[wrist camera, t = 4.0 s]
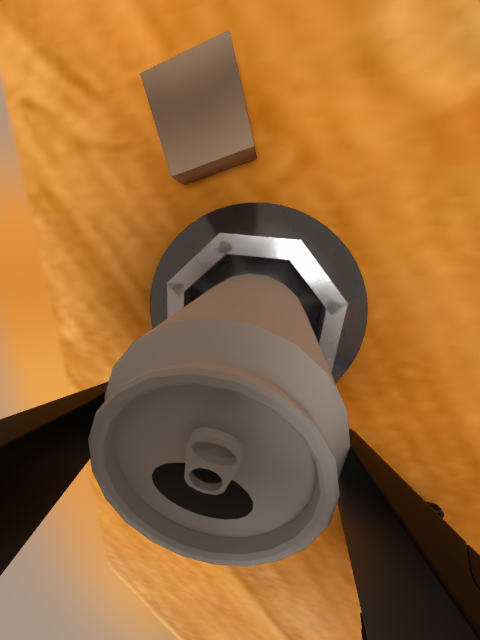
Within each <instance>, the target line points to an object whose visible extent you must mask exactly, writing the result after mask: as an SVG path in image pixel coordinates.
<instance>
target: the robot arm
mask: <svg viewBox="0 0 480 640" xmlns="http://www.w3.org/2000/svg"><path fill="white" fill-rule="evenodd" d="M108 383H109V382H106V383H103V384H100V385H97V386H94V387H92V388H89V389H86V390H83V391H80V392H77V393H74V394H72V395H69V396H66V397H63V398H60V399H57V400H55V401H52V402H49V403H46V404H43V405H40V406H37V407H35V408H32V409H29V410H26V411H23V412H20V413H17V414H15V415H12V416H9V417H6V418H3V419H1V420H0V575H1V574H2V573H3V571H4V570H5V569H6V567H7V566H8V565H9V564H10V562H11V561H12V560H13V558H14V557H15V556H16V555H17V553H18V552H19V551H20V549H21V548H22V547H23V545H24V544H25V543H26V541H27V540H28V539H29V537H30V536H31V535H32V534H33V532H34V531H35V530H36V528H37V527H38V526H39V525H40V523H41V522H42V520H43V519H44V518H45V516H46V515H47V514H48V513H49V511H50V510H51V509H52V508H53V506H54V505H55V504H56V502H57V501H58V500H59V498H60V497H61V496H62V494H63V493H64V492H65V491H66V489H67V488H68V487H69V485H70V484H71V483H72V481H73V480H74V479H75V478H76V476H77V475H78V474H79V472H80V471H81V469H82V468H83V467H84V466H85V464H86V463H87V462H88V461H89V459H90V450H89V441H88V438H89V435H90V431H91V428H92V424H93V421H94V417H95V414H96V411H97V410H98V409H99V408H100V407H101V405H102V404H103V403H104V402H105V398H104V397H105V393H106V390H107V386H108ZM349 438H350V448H349V451H348V454H347V457H346V460H345V463H344V465H343V468H342V471H341V474H340V477H339V478H338V485H339V494H340V495H339V498H338V506H339V511H340V516H341V520H342V525H343V529H344V534H345V539H346V543H347V548H348V552H349V557H350V561H351V566H352V570H353V575H354V579H355V584H356V588H357V593H358V597H359V602H360V607H361V611H362V613H360V616H361V624H362V629H361V631H362V639H363V640H480V555H479V554H478V553H477V552H476V551H475V550H474V549H473V548H472V547H471V546H469V545H466V542H465V541H464V540H463V539H462V538H461V537H460V536H459V535H458V534H457V533H456V532H455V531H454V530H453V529H452V528H451V527H450V526H449V525H448V524H447V523H446V522H445V521H444V520H443V517H444V513H443V511H442V510H441V508H440V507H438V506H434V505H429V504H427V503H426V502H425V501H424V500H423V499H422V498H421V497H420V496H419V495H418V494H417V493H416V492H415V491H414V490H413V489H412V488H411V487H410V486H409V485H408V484H407V483H406V482H405V481H404V480H403V479H402V478H401V477H400V476H399V475H398V474H397V473H396V472H395V471H394V470H393V469H392V468H391V467H390V466H389V465H388V464H387V463H386V462H385V461H384V460H383V459H382V458H381V457H380V456H379V455H378V454H377V453H376V452H375V451H374V450H373V449H372V448H371V447H370V446H369V445H368V444H367V443H366V442H365V441H364V440H363V439H362V438H361V437H360V436H359V435H358V434H357V433H356V432H355V431H353V430H352V429H349Z"/></svg>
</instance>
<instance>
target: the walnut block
mask: <svg viewBox="0 0 480 640" xmlns="http://www.w3.org/2000/svg"><path fill="white" fill-rule="evenodd" d="M140 75H141V78H142V81H143V85H144V88H145V91H146V95H147V98H148V101H149V104H150V108H151V111H152V114H153V117H154V121H155V124H156V127H157V131H158V134H159V137H160V140H161V144H162V147H163V150H164V154H165V157H166V160H167V163H168V167H169V170H170V173H171V176H172V177H173V178H175V179H176V180H178V181H179V182H181V183H182V184H187V183H190V182H192V181H195V180H198V179H201V178H204V177H206V176H209V175H212V174H215V173H218V172H220V171H223V170H226V169H229V168H232V167H234V166H237V165H240V164H243V163H245V162H248V161H251V160H254V159H257V156H256V151H255V146H254V141H253V137H252V132H251V127H250V123H249V118H248V113H247V109H246V104H245V99H244V95H243V90H242V85H241V81H240V76H239V71H238V66H237V62H236V57H235V52H234V48H233V43H232V39H231V34H230V30H228V31H226V32H224V33H222V34H220V35H218V36H216V37H213V38H211V39H209V40H207V41H205V42H203V43H201V44H199V45H197V46H195V47H193V48H191V49H189V50H187V51H185V52H183V53H181V54H179V55H177V56H175V57H173V58H170V59H168V60H166V61H164V62H162V63H160V64H158V65H156V66H154V67H152V68H150V69H148V70H146V71H144V72H142V73H140Z"/></svg>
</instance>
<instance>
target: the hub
mask: <svg viewBox="0 0 480 640" xmlns="http://www.w3.org/2000/svg"><path fill="white" fill-rule="evenodd" d="M243 274H257V275H264V276H269V277H271V278H273V279H275V280H277V281H279V282H281V283H283V284H285V285H286V286H287V287H288V288H289V289H290V290H291V291H292V292H293V293H294V294H295V295H296V296H297V297H298V299H299V301H300V303H301V305H302V307H303V309H304V311H305V313H306V315H307V317H308V320H309V322H310V325H311V327H312V329H313V332H314V334H315V336H316V339H317V341H318V343H319V346H320V348H321V350H322V353H323V355H324V358H325V360H326V362H327V365H328V367H329V369H330V372H331V374H332V376H333V379H334V381H335V383H336V382H337V381H338V380H339V378H340V377H341V376H342V375H343V374H344V373H345V372H346V370H347V369H348V368H349V366H350V365H351V363H352V362H353V360H354V358H355V356H356V355H357V353H358V351H359V349H360V346H361V343H362V340H363V337H364V334H365V329H366V324H367V310H368V306H367V295H366V289H365V285H364V281H363V277H362V275H361V273H360V270H359V268H358V265H357V263H356V261H355V260H354V258H353V256H352V255H351V253H350V251H349V250H348V248H347V247H346V246H345V245H344V244H343V242H342V241H341V240H340V239H339V238H338V237H337V236H336V235H335V234H334V233H333V232H332V231H331V230H330V229H329V228H327V227H326V226H325V225H323V224H322V223H320V222H319V221H317V220H316V219H314V218H313V217H311V216H309V215H307V214H305V213H302V212H300V211H298V210H295V209H292V208H289V207H285V206H282V205H276V204H269V203H243V204H237V205H231V206H228V207H224V208H221V209H218V210H215V211H213V212H211V213H209V214H207V215H204V216H202V217H201V218H199V219H198V220H196V221H195V222H193V223H192V224H190V225H189V226H188V227H187V228H186V229H184V230H183V231H182V232H181V233H180V234H179V235H178V236H177V237H176V238H175V240H174V241H173V242H172V243H171V244H170V246H169V247H168V249H167V250H166V252H165V253H164V255H163V256H162V258H161V261H160V263H159V265H158V267H157V269H156V273H155V276H154V279H153V283H152V289H151V295H150V312H151V321H152V326H153V328H155V327H156V326H158V325H159V324H160V323H162V322H163V321H165V320H166V319H168V318H169V317H171V316H172V315H174V314H175V313H176V312H178V311H179V310H181V309H182V308H184V307H185V306H187V305H188V304H189V303H191V302H192V301H194V300H195V299H197V298H198V297H200V296H201V295H203V294H204V293H205V292H207V291H208V290H210V289H211V288H213V287H214V286H216V285H217V284H219V283H221V282H223V281H224V280H226V279H228V278H230V277H233V276H238V275H243Z"/></svg>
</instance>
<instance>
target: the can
mask: <svg viewBox="0 0 480 640" xmlns="http://www.w3.org/2000/svg"><path fill="white" fill-rule="evenodd" d="M104 398H105V402H104V403H103V404H102V405H101V407H100V408H99V409H98V410H97V411H96V414H95V417H94V421H93V424H92V428H91V431H90V435H89V438H88V441H89V450H90V458H91V466H92V471H93V474H94V476H95V478H96V480H97V482H98V484H99V486H100V488H101V490H102V492H103V494H104V496H105V498H106V500H107V501H108V502H109V503H110V504H111V505H112V507H113V508H114V509H115V510H116V511H117V512H118V514H119V515H120V516H121V517H122V518H123V519H124V521H125V522H126V523H128V524H129V525H130V526H132V527H133V528H135V529H136V530H137V531H139V532H140V533H141V534H143V535H144V536H145V537H147V538H148V539H149V540H151V541H152V542H154V543H156V544H158V545H160V546H162V547H164V548H167V549H169V550H171V551H173V552H175V553H177V554H179V555H181V556H184V557H188V558H192V559H196V560H200V561H203V562H207V563H211V564H217V565H233V566H252V565H258V564H264V563H270V562H275V561H279V560H282V559H284V558H286V557H288V556H290V555H292V554H294V553H296V552H298V551H300V550H302V549H305V548H306V547H307V546H308V545H309V544H310V543H311V542H312V541H313V540H314V539H315V538H316V537H317V536H318V535H319V534H320V533H321V532H322V531H323V530H324V529H325V528H326V527H327V526H328V525H329V524H330V521H331V518H332V515H333V512H334V510H335V507H336V504H337V501H338V498H339V495H340V494H339V485H338V478H339V477H340V474H341V471H342V468H343V465H344V463H345V460H346V457H347V454H348V451H349V448H350V438H349V427H348V415H347V409H346V407H345V405H344V402H343V400H342V398H341V395H340V393H339V391H338V388H337V386H336V383H335V381H334V379H333V376H332V374H331V372H330V369H329V367H328V365H327V362H326V360H325V358H324V355H323V353H322V350H321V348H320V346H319V343H318V341H317V339H316V336H315V334H314V332H313V329H312V327H311V325H310V322H309V320H308V317H307V315H306V313H305V311H304V309H303V307H302V305H301V303H300V301H299V299H298V297H297V296H296V295H295V294H294V293H293V292H292V291H291V290H290V289H289V288H288V287H287V286H286V285H285V284H283V283H281V282H279V281H277V280H275V279H273V278H271V277H269V276H264V275H257V274H243V275H238V276H233V277H230V278H228V279H226V280H224V281H223V282H221V283H219V284H217V285H216V286H214V287H213V288H211V289H210V290H208V291H207V292H205V293H204V294H203V295H201V296H200V297H198V298H197V299H195V300H194V301H192V302H191V303H189V304H188V305H187V306H185V307H184V308H182V309H181V310H179V311H178V312H176V313H175V314H174V315H172V316H171V317H169V318H168V319H166V320H165V321H163V322H162V323H160V324H159V325H158V326H156V327H155V328H153V329H152V330H150V331H149V332H147V333H146V334H144V335H143V336H142V337H140V338H139V339H137V340H136V341H134V342H133V344H132V345H131V346H130V347H129V348H128V350H127V351H126V352H125V353H124V355H123V356H122V357H121V358H120V359H119V361H118V362H117V363H116V364H115V366H114V367H113V369H112V372H111V376H110V379H109V383H108V386H107V390H106V393H105V397H104Z"/></svg>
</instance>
